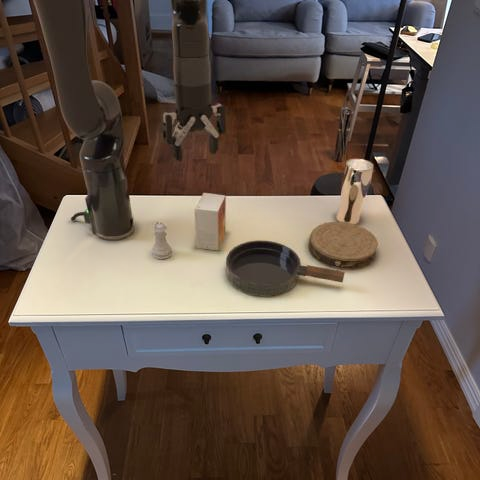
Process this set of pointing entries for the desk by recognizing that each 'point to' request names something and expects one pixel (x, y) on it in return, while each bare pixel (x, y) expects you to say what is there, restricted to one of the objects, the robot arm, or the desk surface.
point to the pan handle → (321, 273)
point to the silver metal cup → (354, 189)
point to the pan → (262, 267)
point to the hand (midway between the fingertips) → (196, 156)
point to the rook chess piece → (161, 242)
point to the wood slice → (342, 245)
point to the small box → (210, 221)
